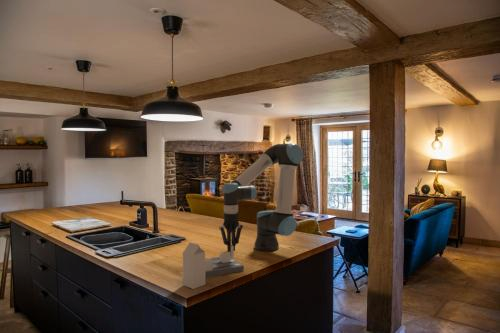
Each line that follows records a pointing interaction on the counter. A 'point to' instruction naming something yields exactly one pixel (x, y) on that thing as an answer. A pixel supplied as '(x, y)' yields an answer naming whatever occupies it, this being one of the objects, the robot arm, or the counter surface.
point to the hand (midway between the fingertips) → (231, 257)
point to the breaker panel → (221, 267)
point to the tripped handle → (224, 256)
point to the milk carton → (193, 266)
